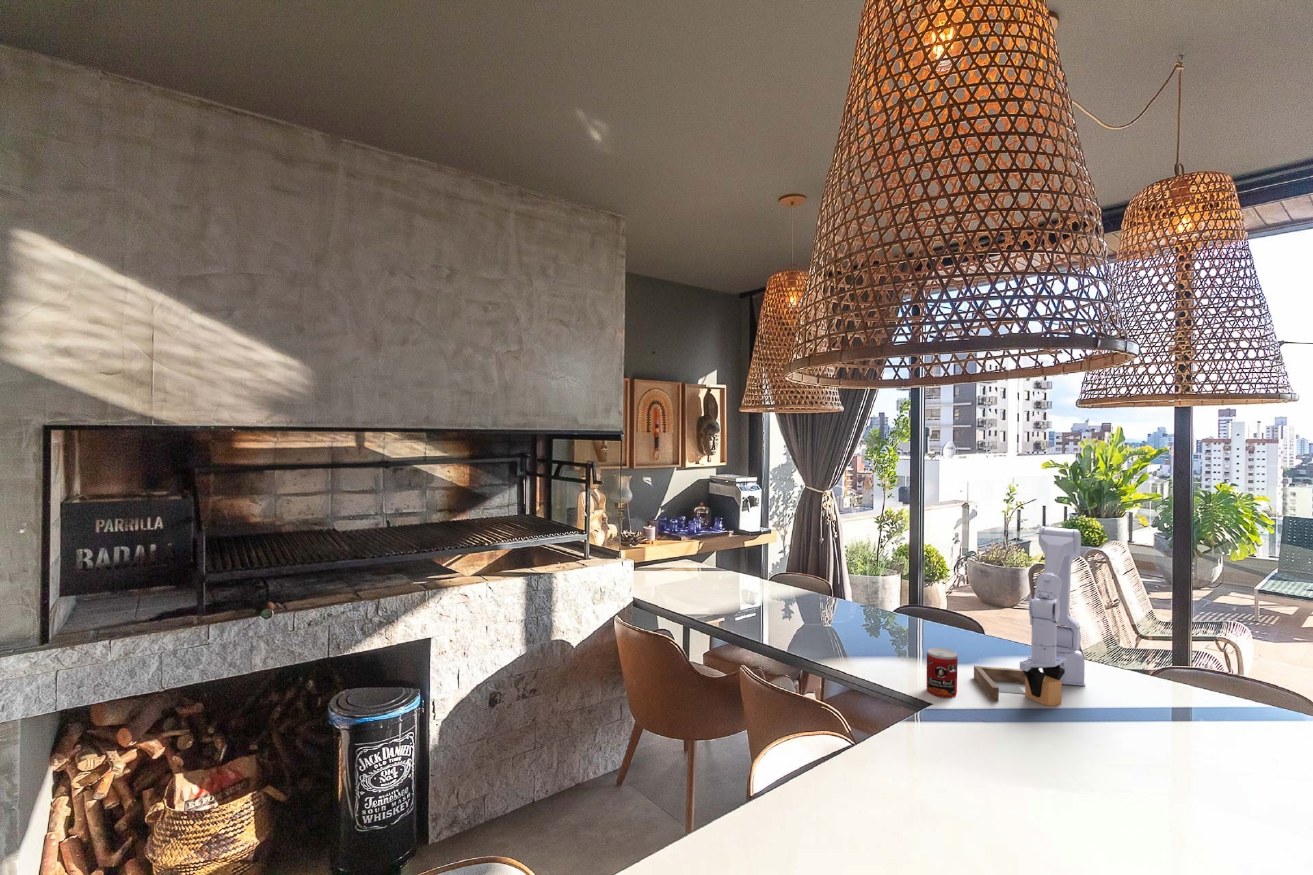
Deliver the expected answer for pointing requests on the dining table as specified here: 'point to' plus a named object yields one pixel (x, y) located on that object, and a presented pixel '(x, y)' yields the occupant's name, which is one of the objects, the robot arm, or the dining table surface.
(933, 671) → the canned food
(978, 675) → the arena
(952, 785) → the dining table surface
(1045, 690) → the block
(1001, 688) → the pad
